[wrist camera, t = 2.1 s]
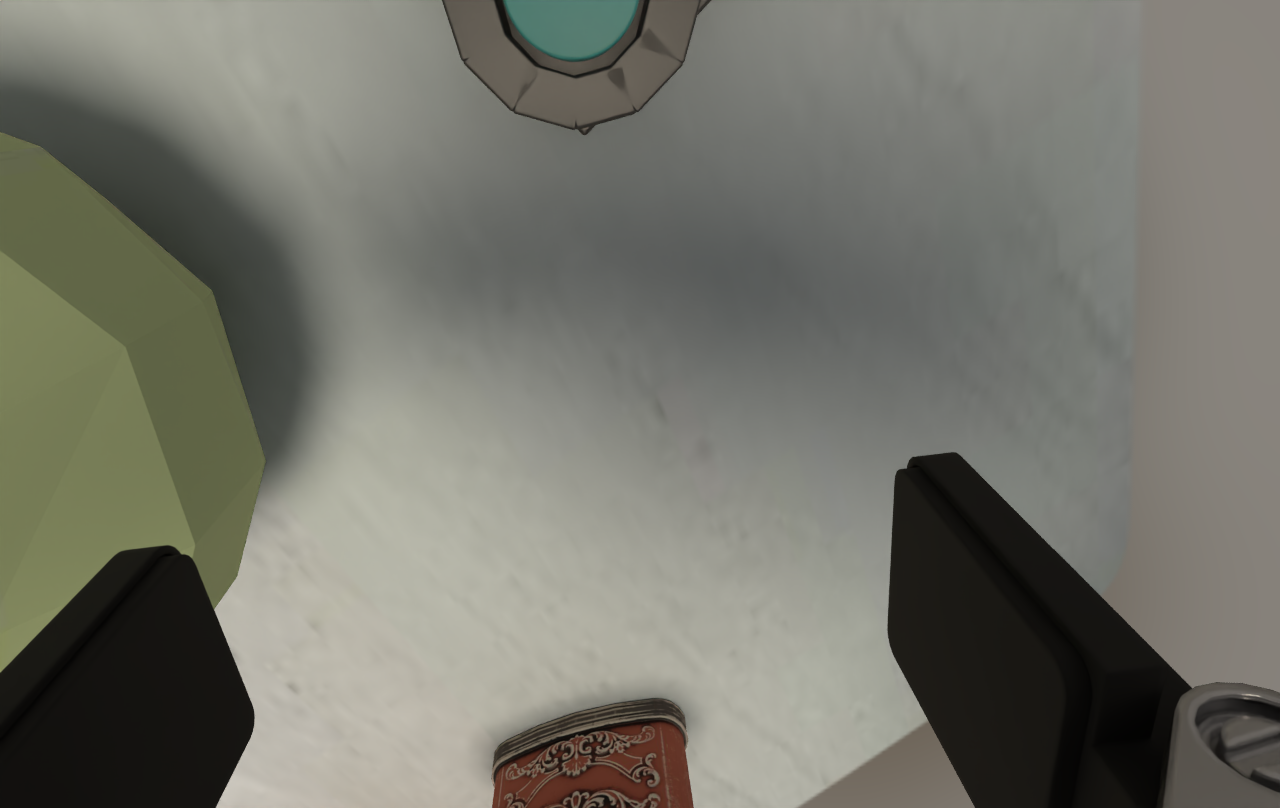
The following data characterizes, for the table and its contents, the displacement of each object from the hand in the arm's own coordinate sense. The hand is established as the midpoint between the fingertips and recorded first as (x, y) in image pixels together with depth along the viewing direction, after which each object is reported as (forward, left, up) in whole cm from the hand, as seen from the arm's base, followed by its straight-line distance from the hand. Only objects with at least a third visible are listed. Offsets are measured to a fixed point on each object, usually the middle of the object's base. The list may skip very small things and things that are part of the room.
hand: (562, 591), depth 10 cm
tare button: (-2, -8, -12) cm, 14 cm away
